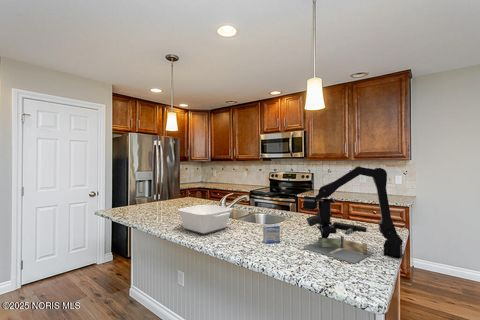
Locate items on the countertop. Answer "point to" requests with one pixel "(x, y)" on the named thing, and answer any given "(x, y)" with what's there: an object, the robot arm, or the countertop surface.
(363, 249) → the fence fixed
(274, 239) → the medicine box
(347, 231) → the door handle
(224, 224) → the tub
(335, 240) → the folding panel
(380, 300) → the countertop surface
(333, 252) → the card
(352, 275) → the countertop surface
